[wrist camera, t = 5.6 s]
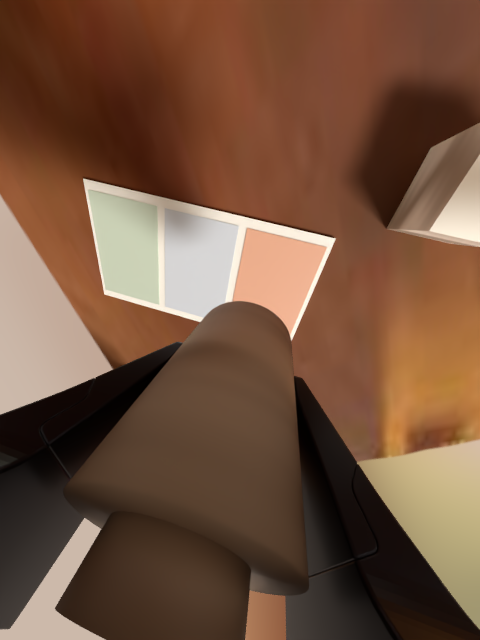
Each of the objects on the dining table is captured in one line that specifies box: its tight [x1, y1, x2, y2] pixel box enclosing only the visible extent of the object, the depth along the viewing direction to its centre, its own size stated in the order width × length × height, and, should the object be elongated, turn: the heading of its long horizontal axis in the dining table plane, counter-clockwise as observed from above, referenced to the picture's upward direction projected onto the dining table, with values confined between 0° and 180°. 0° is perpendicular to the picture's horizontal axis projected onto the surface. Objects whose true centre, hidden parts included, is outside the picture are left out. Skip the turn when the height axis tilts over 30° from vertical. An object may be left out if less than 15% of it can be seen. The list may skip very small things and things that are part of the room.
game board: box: [83, 179, 335, 341], centre depth 19 cm, size 12×24×1 cm, turn 78°
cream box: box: [387, 123, 480, 247], centre depth 11 cm, size 5×5×5 cm
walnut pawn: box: [55, 301, 309, 640], centre depth 6 cm, size 5×5×8 cm
